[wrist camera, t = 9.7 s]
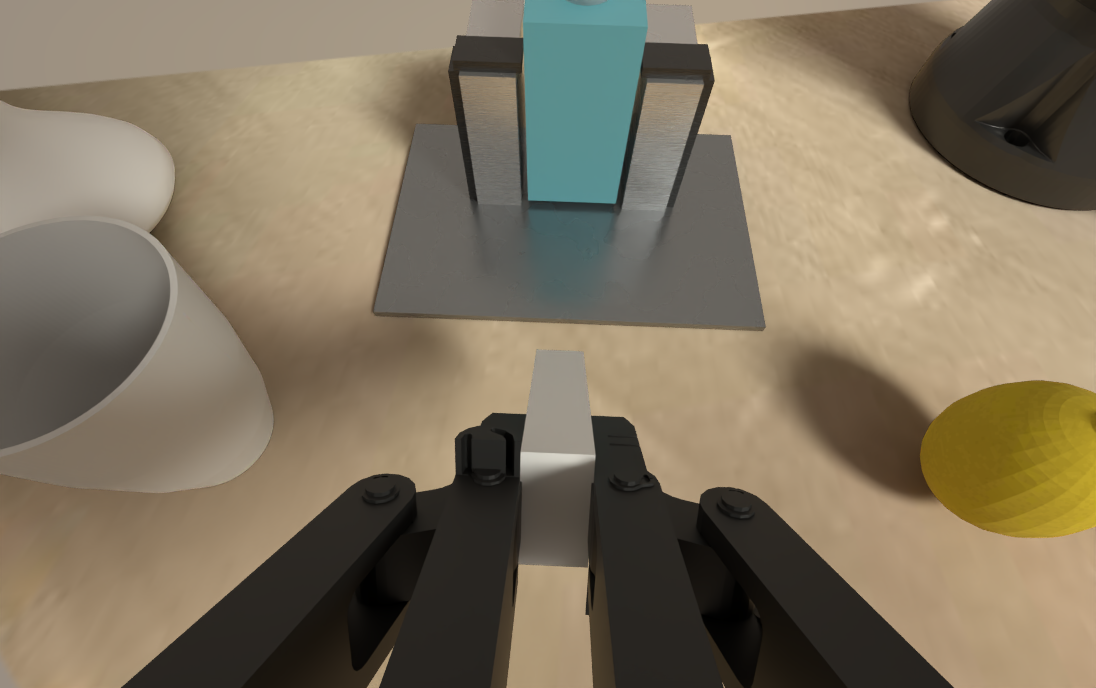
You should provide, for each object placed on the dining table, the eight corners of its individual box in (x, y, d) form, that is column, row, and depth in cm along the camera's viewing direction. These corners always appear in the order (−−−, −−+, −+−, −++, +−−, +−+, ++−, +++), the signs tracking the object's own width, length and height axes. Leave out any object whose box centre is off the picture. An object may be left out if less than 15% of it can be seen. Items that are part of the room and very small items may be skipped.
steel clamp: (728, 140, 33) (787, -8, 25) (762, 330, 27) (856, 211, 19) (417, 129, 33) (379, -22, 25) (375, 315, 27) (306, 190, 19)
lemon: (886, 407, 25) (1025, 324, 18) (1010, 450, 24) (1208, 380, 17) (875, 519, 22) (1031, 474, 15) (1013, 571, 22) (1245, 548, 14)
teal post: (613, 141, 32) (648, -84, 22) (615, 203, 30) (656, -17, 19) (532, 138, 32) (528, -88, 22) (528, 200, 30) (521, -22, 19)
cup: (163, 350, 26) (-35, 211, 17) (326, 356, 26) (214, 219, 17) (91, 521, 22) (-213, 456, 13) (282, 527, 22) (108, 467, 13)
